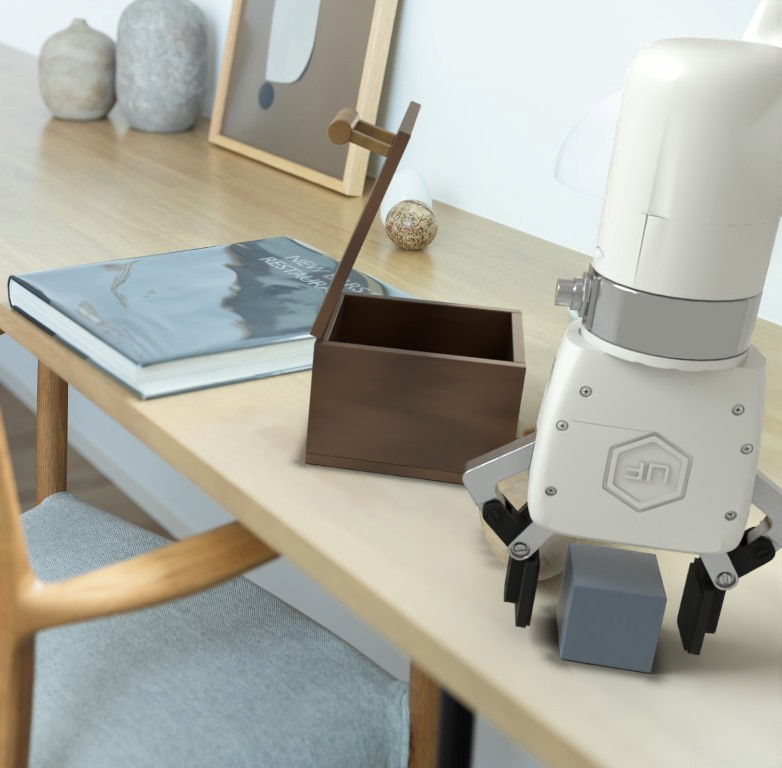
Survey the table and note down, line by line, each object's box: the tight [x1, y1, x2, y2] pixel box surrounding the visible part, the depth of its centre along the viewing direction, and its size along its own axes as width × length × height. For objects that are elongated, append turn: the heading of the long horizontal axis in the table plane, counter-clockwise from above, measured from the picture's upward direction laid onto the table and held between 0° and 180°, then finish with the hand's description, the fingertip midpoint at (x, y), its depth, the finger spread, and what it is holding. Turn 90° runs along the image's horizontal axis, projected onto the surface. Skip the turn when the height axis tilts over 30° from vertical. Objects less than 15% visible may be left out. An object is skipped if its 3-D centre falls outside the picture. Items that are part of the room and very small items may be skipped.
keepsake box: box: [304, 290, 527, 485], centre depth 82 cm, size 14×12×9 cm
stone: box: [478, 469, 577, 581], centre depth 70 cm, size 6×6×12 cm
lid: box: [309, 100, 422, 339], centre depth 79 cm, size 14×12×5 cm
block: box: [555, 542, 668, 674], centre depth 61 cm, size 4×4×4 cm
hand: (603, 624), depth 62 cm, fingers open, 8 cm apart
